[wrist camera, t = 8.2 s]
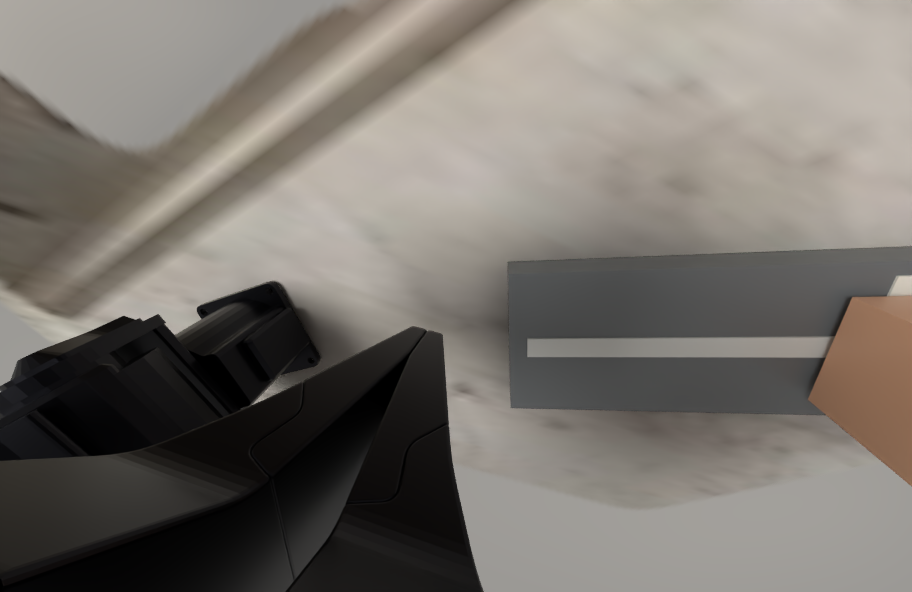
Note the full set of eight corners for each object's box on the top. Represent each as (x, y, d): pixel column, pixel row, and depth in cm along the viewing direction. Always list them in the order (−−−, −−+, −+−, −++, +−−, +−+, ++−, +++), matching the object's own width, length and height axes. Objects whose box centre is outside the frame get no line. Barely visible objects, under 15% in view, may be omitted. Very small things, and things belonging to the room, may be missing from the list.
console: (509, 387, 23) (510, 409, 21) (507, 261, 19) (508, 274, 17) (887, 392, 20) (928, 419, 18) (968, 244, 16) (1030, 257, 14)
